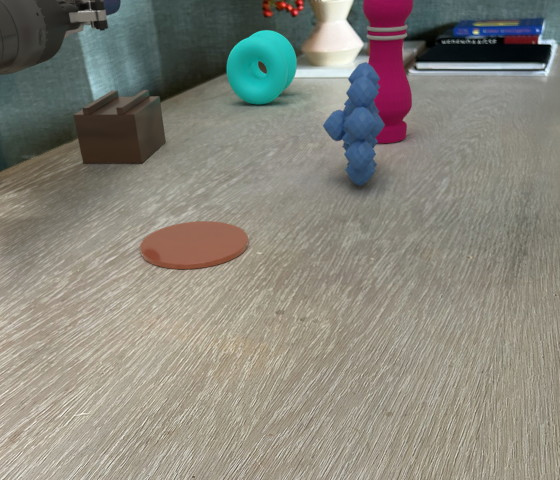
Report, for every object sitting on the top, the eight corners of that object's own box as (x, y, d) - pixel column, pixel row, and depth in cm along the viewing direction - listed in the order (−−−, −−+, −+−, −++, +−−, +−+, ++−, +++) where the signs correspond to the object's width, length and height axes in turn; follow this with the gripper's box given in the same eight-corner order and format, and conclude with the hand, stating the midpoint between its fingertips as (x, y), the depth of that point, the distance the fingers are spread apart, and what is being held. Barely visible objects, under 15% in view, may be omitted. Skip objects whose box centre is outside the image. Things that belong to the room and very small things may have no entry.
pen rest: (142, 163, 85) (133, 107, 81) (82, 163, 86) (71, 107, 82) (165, 141, 93) (158, 89, 89) (111, 141, 94) (102, 90, 91)
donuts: (299, 93, 116) (297, 28, 110) (286, 106, 108) (284, 37, 102) (243, 93, 118) (239, 29, 112) (227, 106, 110) (221, 38, 104)
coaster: (157, 278, 57) (156, 273, 57) (129, 238, 65) (128, 233, 64) (265, 254, 60) (264, 249, 60) (225, 218, 68) (225, 214, 68)
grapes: (327, 163, 82) (327, 56, 75) (383, 163, 81) (388, 54, 74) (318, 196, 72) (316, 76, 65) (381, 196, 71) (386, 75, 64)
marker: (81, 28, 72) (75, -6, 70) (53, 28, 73) (47, -6, 71) (123, 14, 83) (119, -16, 81) (99, 15, 83) (94, -15, 82)
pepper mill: (421, 137, 89) (433, -39, 78) (380, 148, 86) (387, -34, 75) (384, 127, 94) (391, -39, 83) (344, 137, 91) (346, -35, 80)
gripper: (69, -25, 58) (136, -34, 72) (-78, -19, 60) (15, -30, 74) (86, 69, 62) (146, 43, 76) (-52, 71, 64) (31, 45, 79)
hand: (81, 7), depth 75 cm, fingers closed on marker, 3 cm apart
